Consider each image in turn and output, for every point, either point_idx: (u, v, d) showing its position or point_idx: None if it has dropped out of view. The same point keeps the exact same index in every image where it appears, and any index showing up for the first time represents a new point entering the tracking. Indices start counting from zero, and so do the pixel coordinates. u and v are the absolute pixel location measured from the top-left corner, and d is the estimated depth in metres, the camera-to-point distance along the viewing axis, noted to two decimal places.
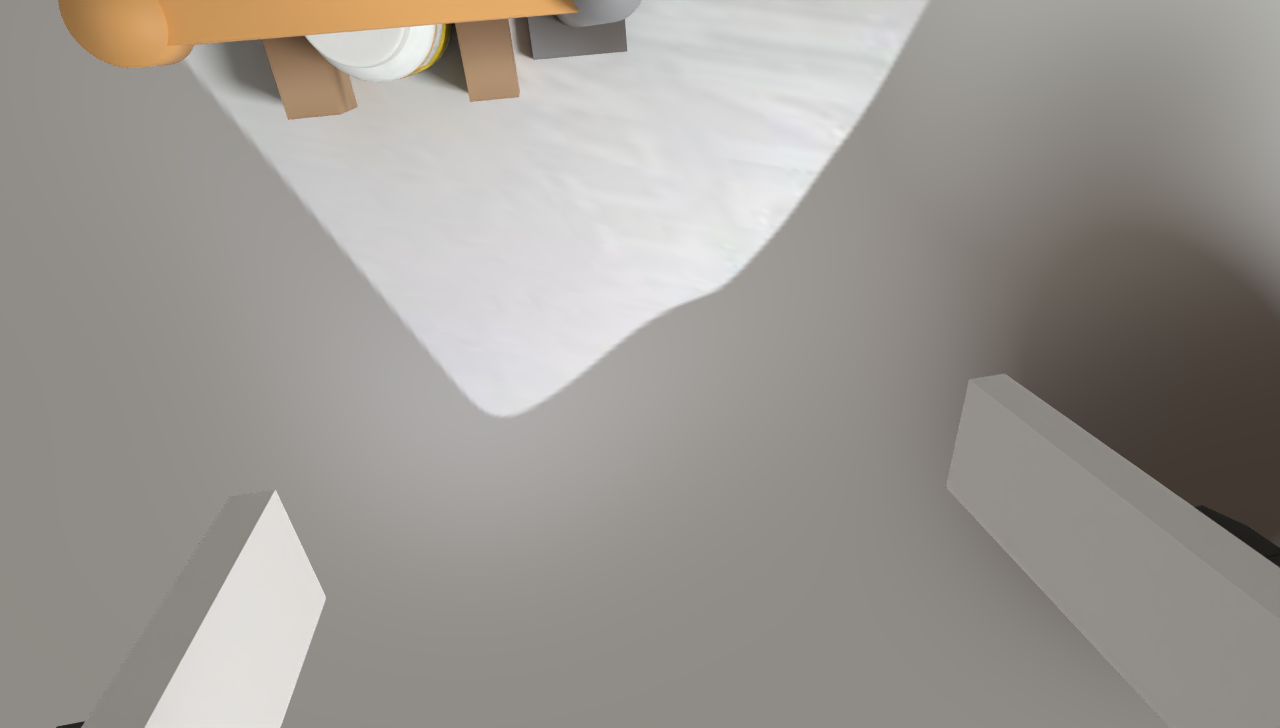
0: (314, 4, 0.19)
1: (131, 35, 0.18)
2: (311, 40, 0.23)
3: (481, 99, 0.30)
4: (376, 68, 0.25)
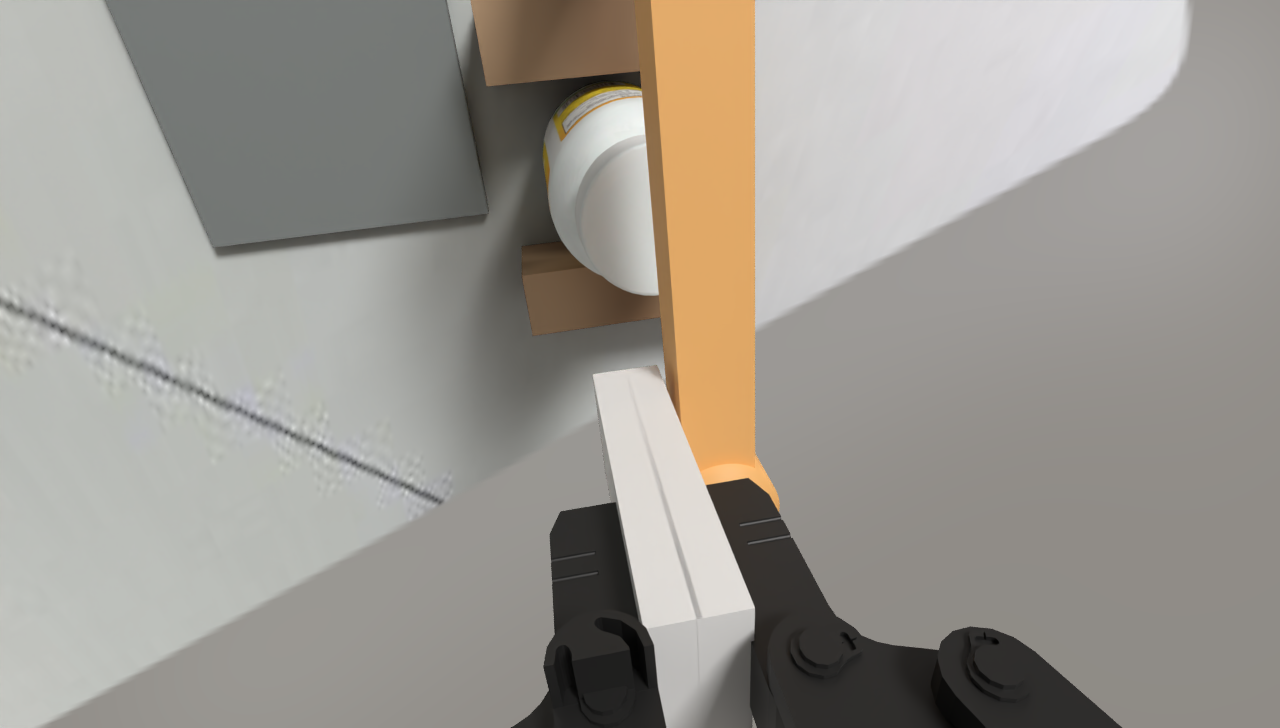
0: (715, 285, 0.11)
1: None
2: None
3: None
4: None
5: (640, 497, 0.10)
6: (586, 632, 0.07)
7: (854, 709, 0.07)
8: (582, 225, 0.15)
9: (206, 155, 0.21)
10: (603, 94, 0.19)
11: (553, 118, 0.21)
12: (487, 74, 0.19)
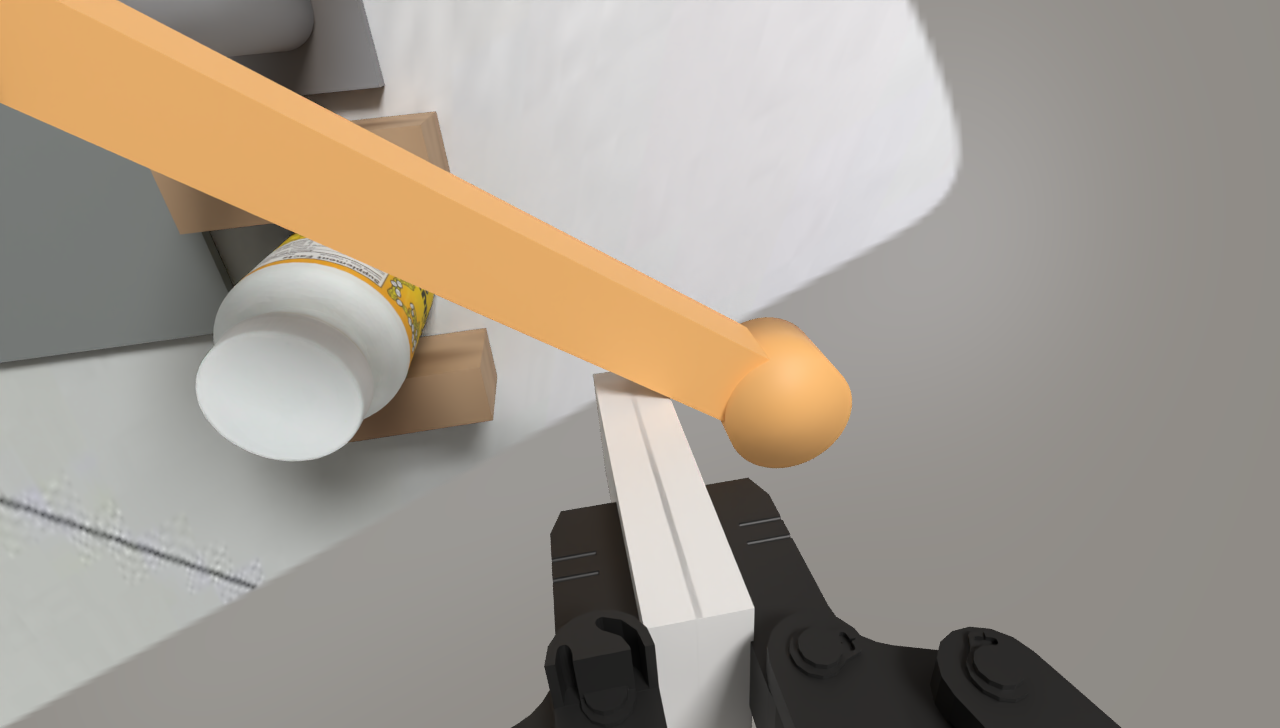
0: (542, 292, 0.11)
1: (792, 393, 0.12)
2: (338, 446, 0.17)
3: None
4: (381, 353, 0.18)
5: (640, 497, 0.10)
6: (587, 632, 0.07)
7: (853, 709, 0.07)
8: (200, 405, 0.16)
9: None
10: (290, 243, 0.19)
11: None
12: (178, 223, 0.19)
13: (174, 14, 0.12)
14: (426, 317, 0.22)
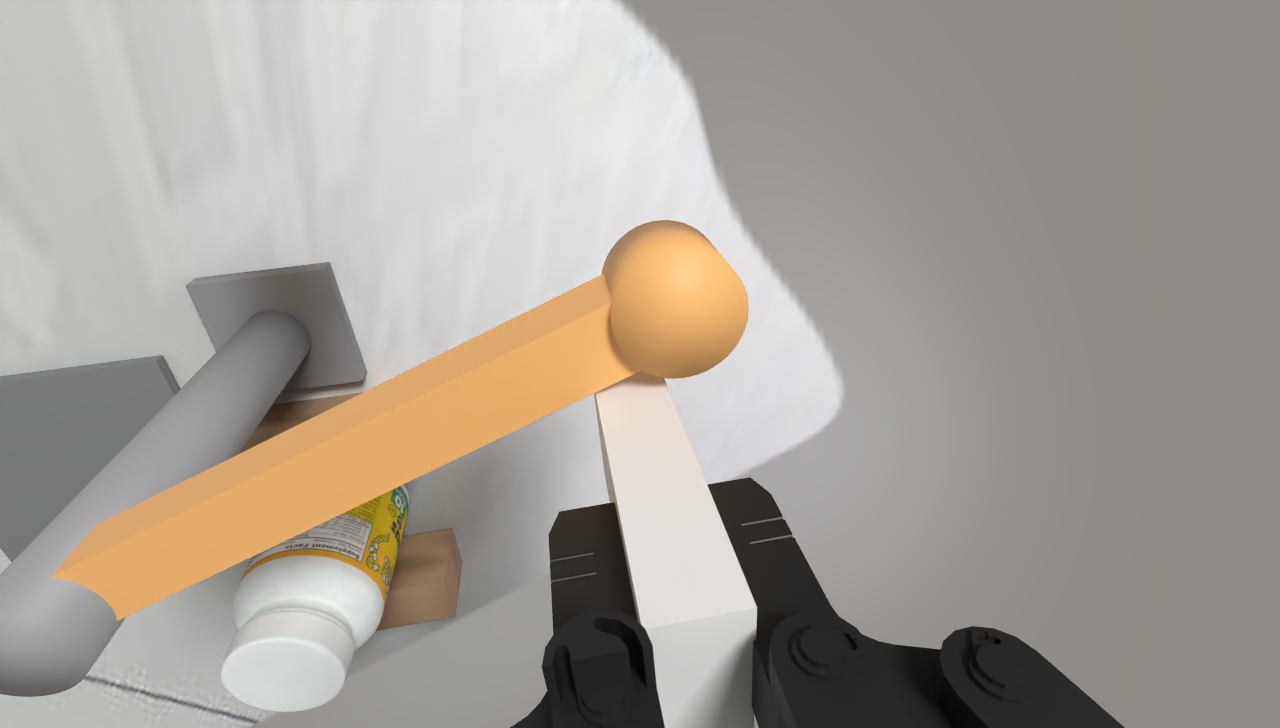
0: (422, 434, 0.12)
1: (656, 305, 0.11)
2: (326, 701, 0.22)
3: None
4: (360, 617, 0.23)
5: (639, 497, 0.10)
6: (584, 633, 0.07)
7: (856, 708, 0.07)
8: (223, 683, 0.21)
9: (10, 525, 0.27)
10: None
11: None
12: None
13: (191, 450, 0.17)
14: (399, 546, 0.28)
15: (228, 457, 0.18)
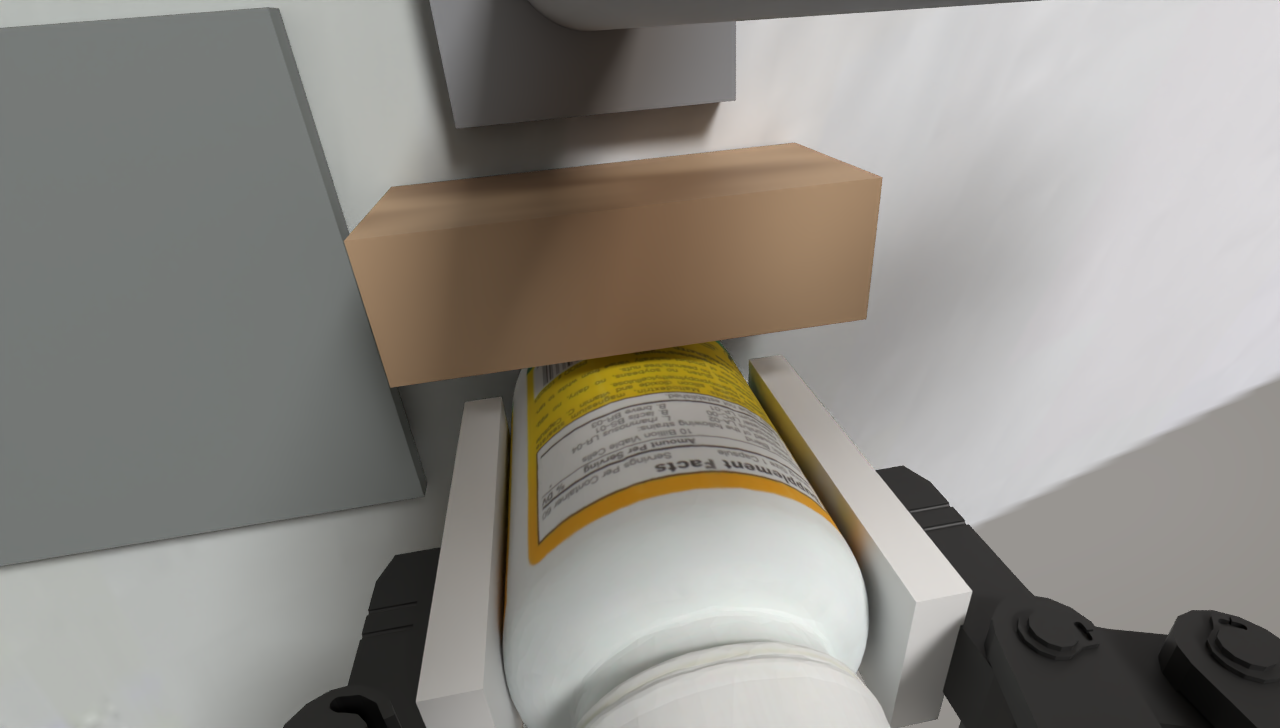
0: None
1: None
2: None
3: (867, 289, 0.10)
4: (852, 664, 0.08)
5: (465, 544, 0.09)
6: (318, 719, 0.06)
7: (1089, 694, 0.07)
8: None
9: None
10: (617, 411, 0.09)
11: (527, 378, 0.12)
12: (390, 369, 0.10)
13: None
14: None
15: None
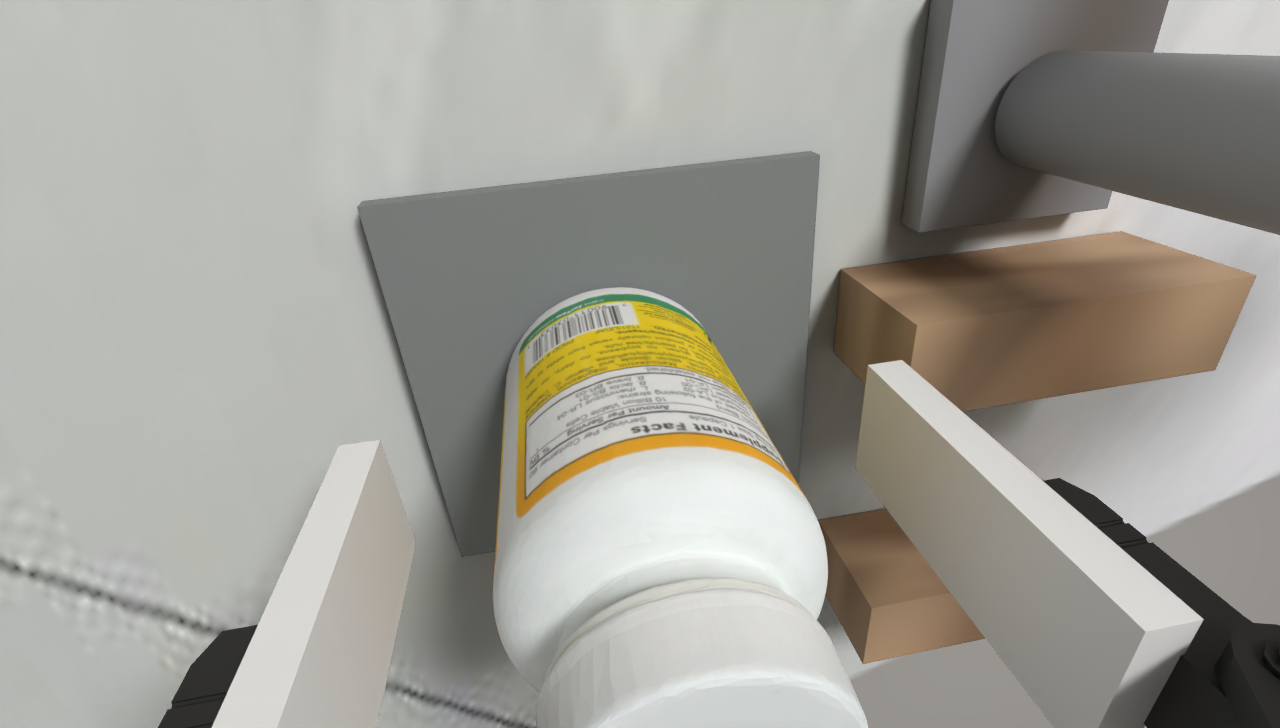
0: None
1: None
2: None
3: (1222, 349, 0.14)
4: (811, 610, 0.09)
5: (283, 626, 0.08)
6: None
7: None
8: None
9: (475, 463, 0.16)
10: (599, 383, 0.10)
11: (519, 358, 0.13)
12: None
13: None
14: None
15: None
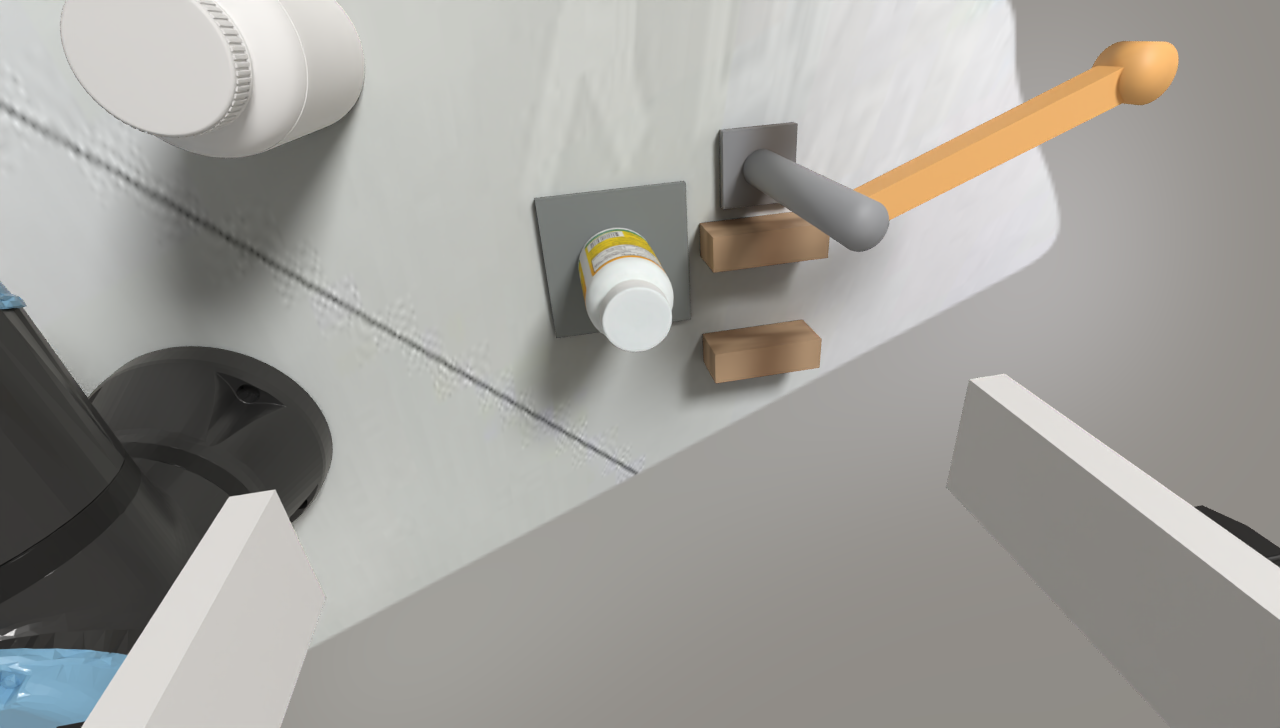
0: (1032, 130, 0.28)
1: (1144, 67, 0.27)
2: (655, 344, 0.35)
3: (827, 249, 0.41)
4: None
5: None
6: None
7: None
8: (603, 321, 0.34)
9: (564, 296, 0.43)
10: (612, 248, 0.37)
11: (585, 249, 0.40)
12: (715, 267, 0.41)
13: None
14: None
15: None
